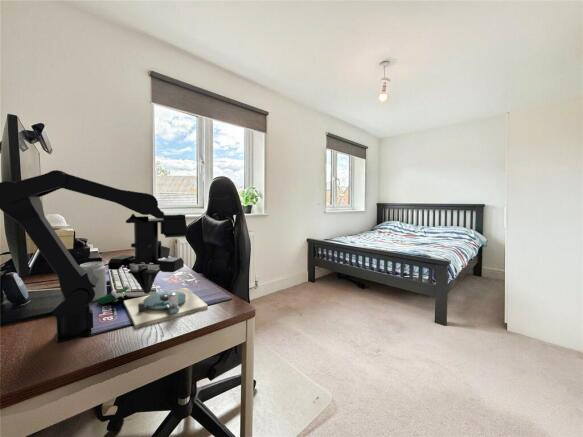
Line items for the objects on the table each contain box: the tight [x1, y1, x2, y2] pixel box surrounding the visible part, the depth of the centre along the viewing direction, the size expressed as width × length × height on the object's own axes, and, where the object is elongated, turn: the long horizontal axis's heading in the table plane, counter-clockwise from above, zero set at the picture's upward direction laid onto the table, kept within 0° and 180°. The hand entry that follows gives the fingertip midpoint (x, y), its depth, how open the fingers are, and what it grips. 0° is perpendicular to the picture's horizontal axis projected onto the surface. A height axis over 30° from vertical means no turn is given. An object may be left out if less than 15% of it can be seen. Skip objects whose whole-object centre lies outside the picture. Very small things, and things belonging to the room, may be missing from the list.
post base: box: [123, 287, 208, 329], centre depth 80 cm, size 20×20×3 cm
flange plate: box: [143, 290, 186, 314], centre depth 79 cm, size 17×12×5 cm
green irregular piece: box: [97, 284, 132, 305], centre depth 84 cm, size 9×4×6 cm
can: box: [79, 261, 108, 303], centre depth 84 cm, size 8×8×12 cm
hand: (147, 293), depth 71 cm, fingers closed
